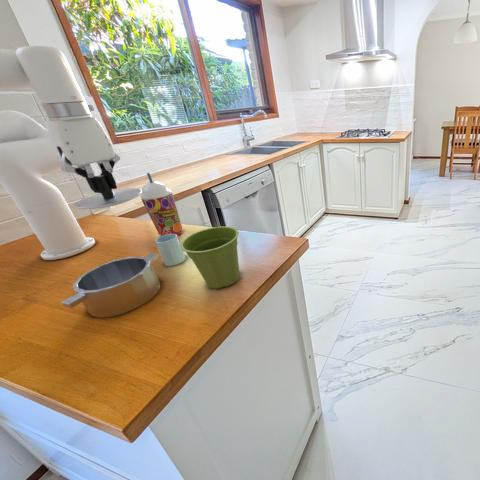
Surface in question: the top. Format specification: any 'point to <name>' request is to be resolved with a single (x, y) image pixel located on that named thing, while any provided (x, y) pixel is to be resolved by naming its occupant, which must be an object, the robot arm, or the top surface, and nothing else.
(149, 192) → the smoothie
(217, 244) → the plant pot
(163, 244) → the measuring cup
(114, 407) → the top surface
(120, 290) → the silver cooking pot
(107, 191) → the lid
